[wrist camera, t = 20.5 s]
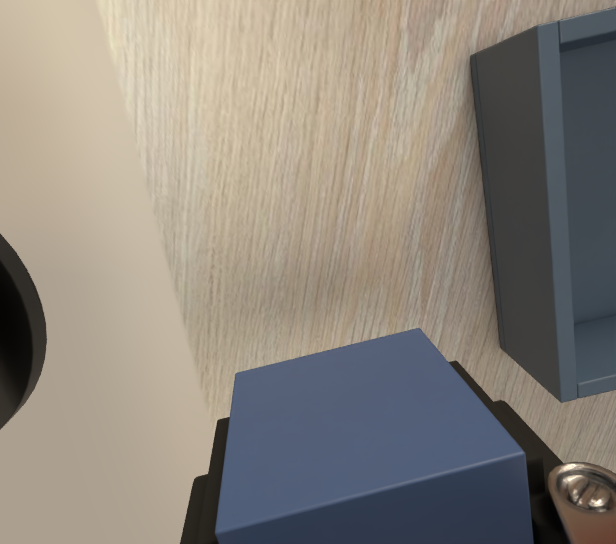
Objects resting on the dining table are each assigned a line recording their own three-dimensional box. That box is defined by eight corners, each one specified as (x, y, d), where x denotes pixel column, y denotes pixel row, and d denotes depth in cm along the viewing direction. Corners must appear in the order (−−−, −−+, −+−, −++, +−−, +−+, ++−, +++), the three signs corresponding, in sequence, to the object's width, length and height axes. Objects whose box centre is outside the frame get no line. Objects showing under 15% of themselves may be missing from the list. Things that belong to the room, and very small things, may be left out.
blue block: (280, 520, 13) (288, 739, 8) (234, 372, 12) (213, 533, 7) (444, 478, 13) (546, 668, 8) (419, 326, 12) (526, 452, 7)
